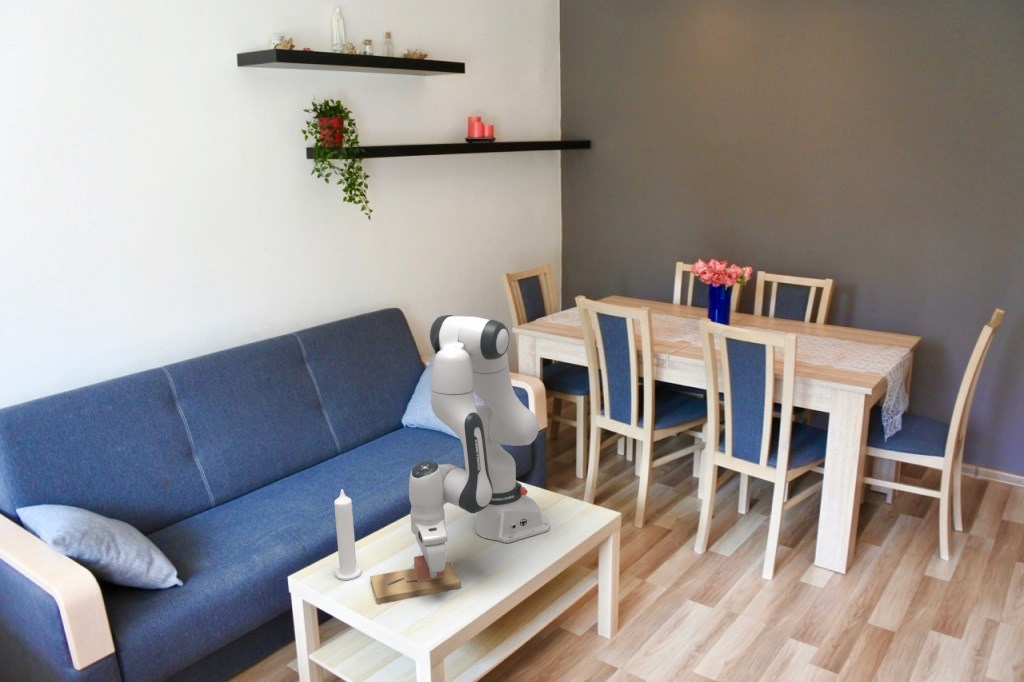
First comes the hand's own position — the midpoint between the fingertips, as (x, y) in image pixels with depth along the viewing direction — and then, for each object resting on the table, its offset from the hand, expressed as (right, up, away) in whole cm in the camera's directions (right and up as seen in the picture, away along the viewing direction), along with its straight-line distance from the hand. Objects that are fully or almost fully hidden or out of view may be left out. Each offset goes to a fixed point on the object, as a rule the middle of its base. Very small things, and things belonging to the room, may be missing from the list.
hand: (430, 570), depth 216 cm
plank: (-4, -4, -1) cm, 5 cm away
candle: (-23, -3, +6) cm, 24 cm away
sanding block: (0, -1, 0) cm, 1 cm away
